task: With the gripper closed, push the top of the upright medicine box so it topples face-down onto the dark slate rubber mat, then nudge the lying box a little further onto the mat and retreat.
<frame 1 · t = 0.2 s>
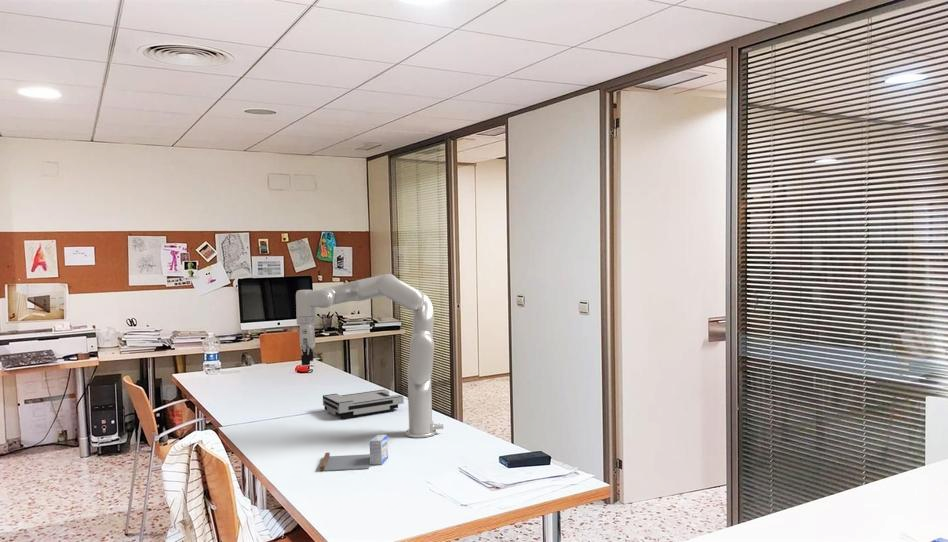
hand: (307, 362, 272), 31 cm above the table, tool pointing down, fingers open, 9 cm apart
walnut stop strip: (325, 464, 241), resting in slate mat
medicine box: (379, 462, 243), on the table
game console: (363, 412, 320), on the table
slate mat: (347, 463, 241), on the table
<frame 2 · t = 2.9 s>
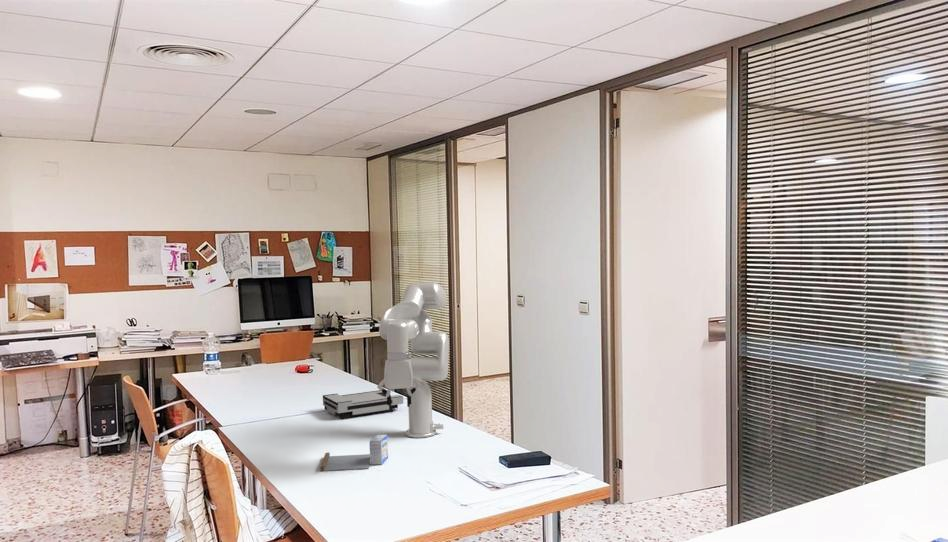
hand: (399, 406, 243), 20 cm above the table, tool pointing down, fingers open, 5 cm apart
nothing on the table moved.
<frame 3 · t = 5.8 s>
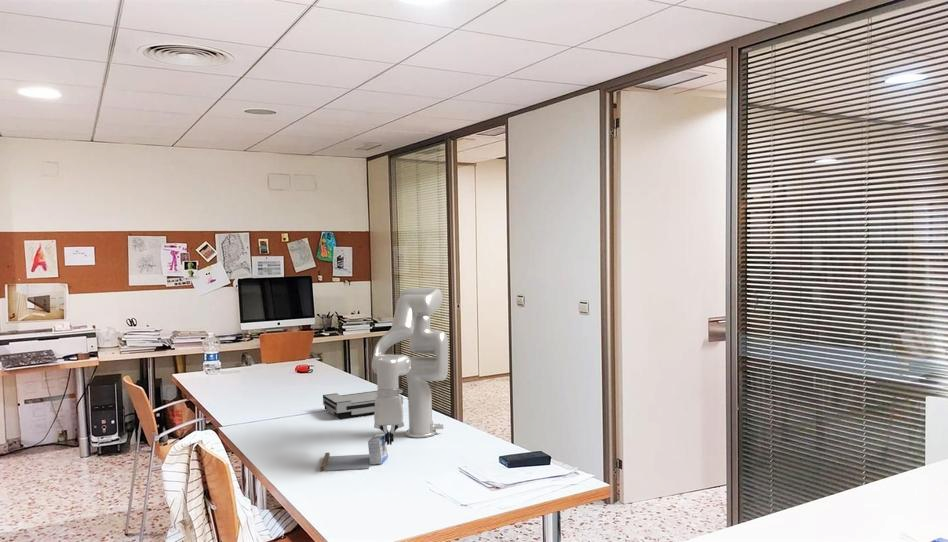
hand: (389, 443, 243), 6 cm above the table, tool pointing down, fingers closed
nothing on the table moved.
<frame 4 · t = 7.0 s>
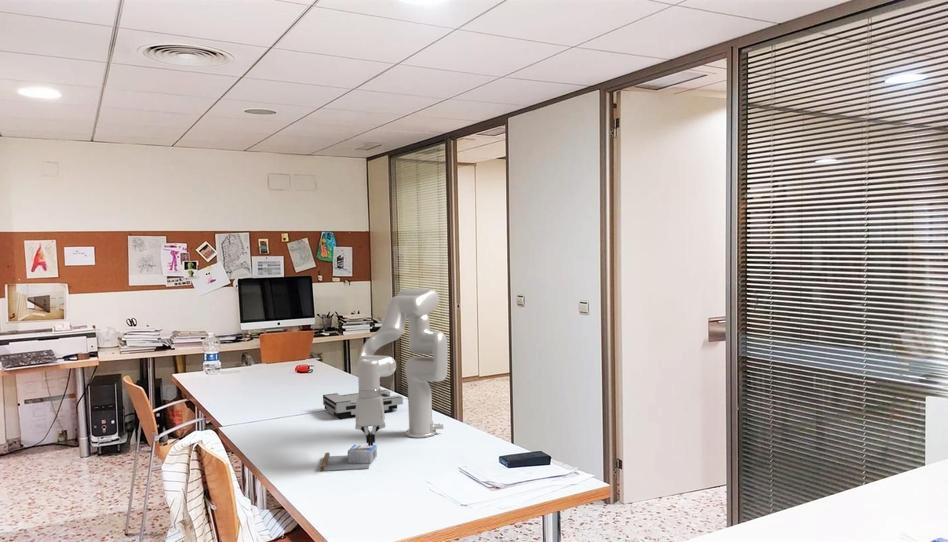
hand: (370, 444, 242), 6 cm above the table, tool pointing down, fingers closed
medicine box: (374, 454, 243), point 3 cm above the table, touching slate mat
everything else where it was.
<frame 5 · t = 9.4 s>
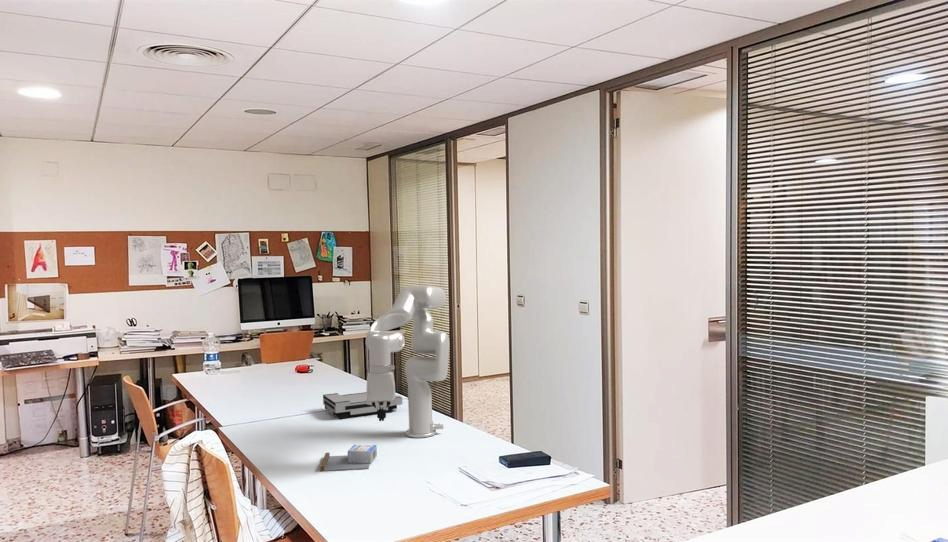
hand: (381, 420, 242), 15 cm above the table, tool pointing down, fingers closed
nothing on the table moved.
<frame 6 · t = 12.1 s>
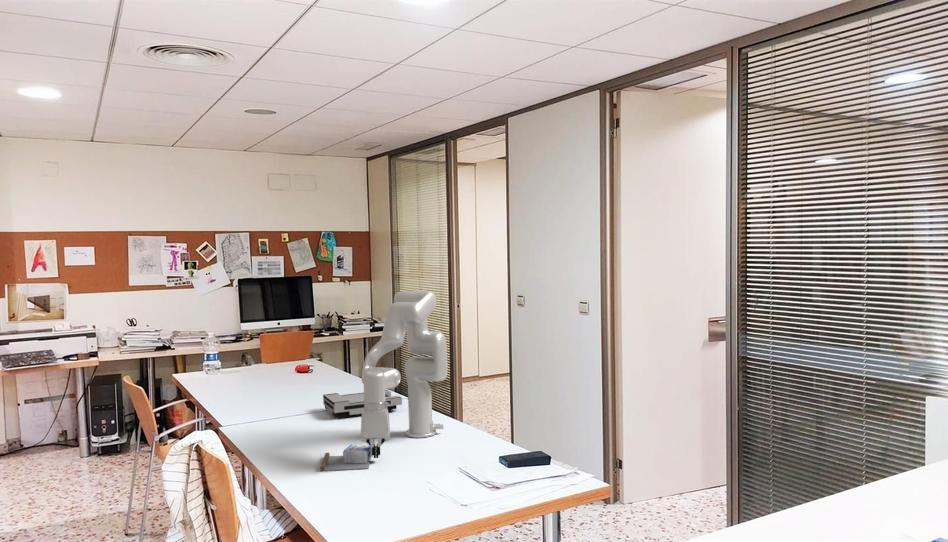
hand: (376, 457, 242), 2 cm above the table, tool pointing down, fingers closed
medicine box: (370, 454, 243), point 3 cm above the table, touching gripper
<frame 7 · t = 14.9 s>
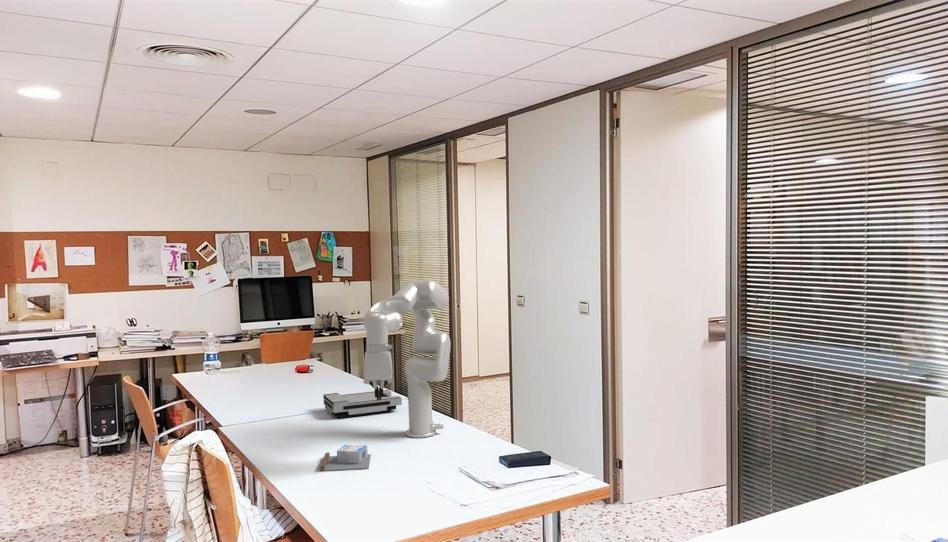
hand: (379, 399, 243), 22 cm above the table, tool pointing down, fingers closed
medicine box: (364, 454, 243), point 3 cm above the table, touching slate mat
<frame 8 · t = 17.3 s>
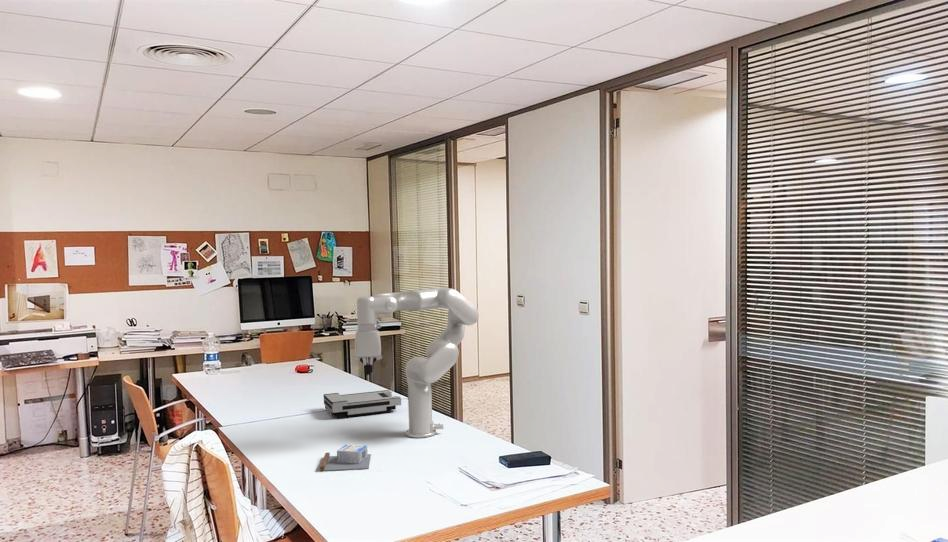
hand: (368, 374, 265), 27 cm above the table, tool pointing down, fingers closed
at the end: medicine box tilted 89°; medicine box inside the target area (5.6 cm from its centre), point 2.6 cm above the table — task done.
